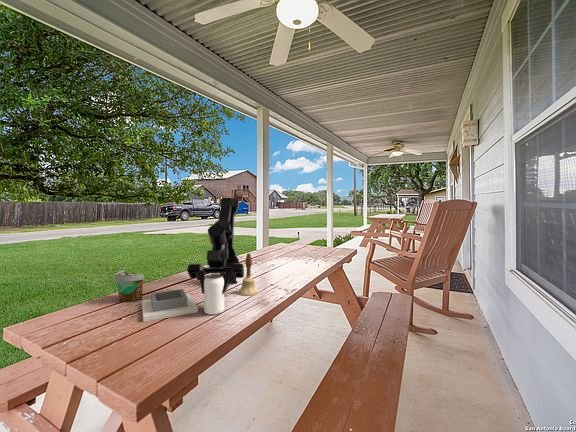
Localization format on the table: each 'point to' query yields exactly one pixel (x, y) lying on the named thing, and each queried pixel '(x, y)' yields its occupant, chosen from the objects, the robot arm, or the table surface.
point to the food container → (129, 286)
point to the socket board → (168, 305)
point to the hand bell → (248, 280)
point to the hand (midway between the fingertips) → (213, 293)
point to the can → (213, 294)
